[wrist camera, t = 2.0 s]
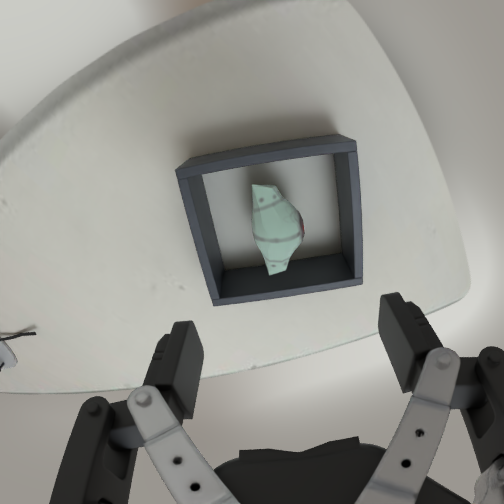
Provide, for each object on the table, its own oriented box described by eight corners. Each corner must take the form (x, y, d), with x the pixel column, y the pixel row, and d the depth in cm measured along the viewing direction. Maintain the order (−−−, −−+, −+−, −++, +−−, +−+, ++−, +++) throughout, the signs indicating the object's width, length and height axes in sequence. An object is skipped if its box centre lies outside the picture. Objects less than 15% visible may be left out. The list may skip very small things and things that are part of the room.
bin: (339, 134, 25) (356, 140, 20) (349, 258, 31) (362, 284, 26) (189, 158, 26) (174, 169, 22) (219, 277, 32) (213, 306, 27)
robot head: (245, 172, 27) (241, 193, 21) (290, 165, 26) (300, 183, 20) (261, 251, 30) (261, 290, 24) (302, 245, 30) (312, 282, 24)
